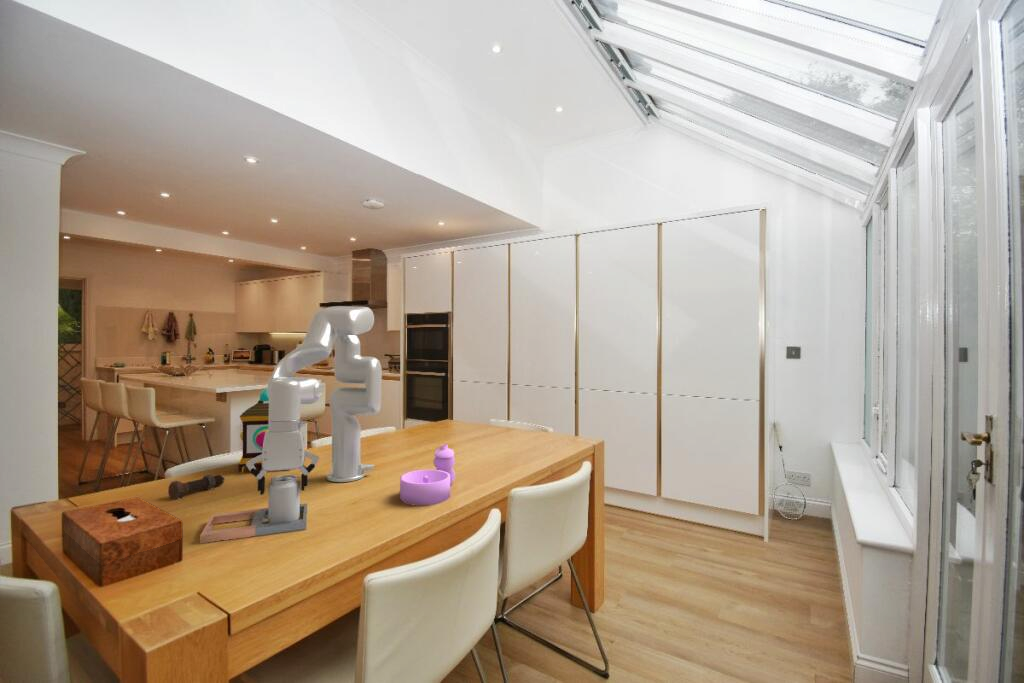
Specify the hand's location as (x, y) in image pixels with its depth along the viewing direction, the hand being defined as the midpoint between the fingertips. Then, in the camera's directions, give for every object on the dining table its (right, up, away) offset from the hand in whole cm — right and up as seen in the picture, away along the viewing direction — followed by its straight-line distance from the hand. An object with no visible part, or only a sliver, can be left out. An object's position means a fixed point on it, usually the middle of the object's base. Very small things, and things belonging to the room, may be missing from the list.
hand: (283, 491), depth 123 cm
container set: (+35, -9, +27) cm, 45 cm away
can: (0, -9, +1) cm, 9 cm away
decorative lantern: (-31, -8, +54) cm, 63 cm away
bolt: (-38, -8, +24) cm, 46 cm away
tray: (-6, -8, -2) cm, 10 cm away
